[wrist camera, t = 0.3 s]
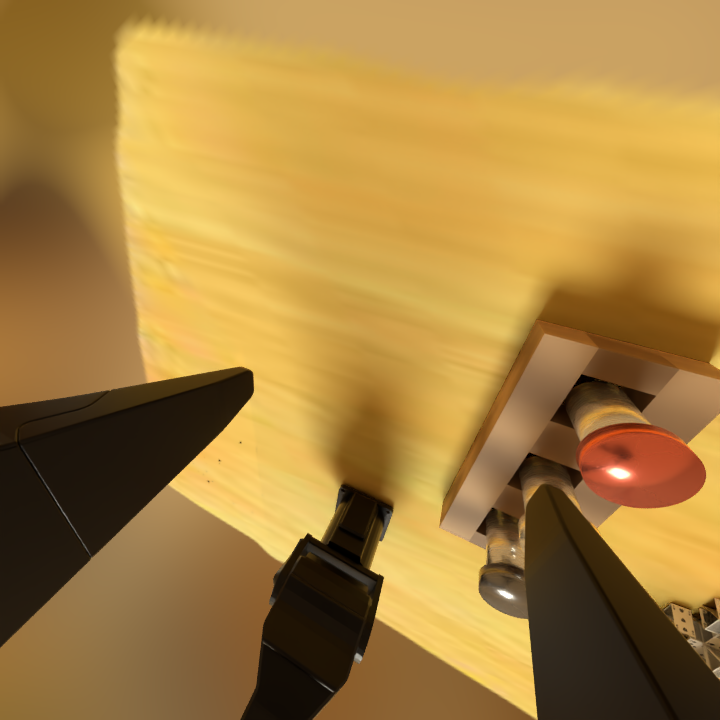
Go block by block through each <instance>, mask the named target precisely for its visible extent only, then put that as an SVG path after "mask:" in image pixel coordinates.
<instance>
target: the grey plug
mask: <svg viewBox="0 0 720 720" xmlns="http://www.w3.org/2000/svg"><path fill="white" fill-rule="evenodd" d="M519 520H520V519H518V518H516V517H513V516H511V515H509V514H506V513H504V512H502V511H499V510H497V509H495V510H492V511H490V512H488V514H487V515H486V565H484V566H483V567H482V568H481V569H480V571H479V593H480V595H481V597H482V598H483V599H484V600H485V601H486V602H487V603H488V604H489V605H491V606H492V607H493V608H495V609H497V610H498V611H500V612H502V613H505V614H507V615H510V616H513V617H517V618H523V619H528V609H527V598H526V587H525V574H524V552H523V550H522V548H521V546H520V539H519V530H518V522H519Z"/></svg>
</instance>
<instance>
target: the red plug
mask: <svg viewBox="0 0 720 720" xmlns="http://www.w3.org/2000/svg"><path fill="white" fill-rule="evenodd" d="M565 408H566V411H567V413H568V415H569V417H570V420H571V422H572V424H573V427H574V429H575V431H576V433H577V436H578V438H579V440H580V443H579V445H578V447H577V449H576V462H577V464H578V467H579V470H580V472H581V475H582V477H583V480H584V482H585V483H586V485H587V486H588V487H589V488H590V489H591V490H592V491H593V492H594V493H595V494H597V495H598V496H600V497H602V498H604V499H605V500H608V501H610V502H613V503H616V504H619V505H623V506H628V507H634V508H660V507H667V506H671V505H675V504H678V503H681V502H683V501H685V500H687V499H689V498H691V497H692V496H694V495H695V494H696V493H697V492H698V491H700V489H701V488H702V487H703V485H704V482H705V479H706V471H705V467H704V465H703V463H702V462H701V460H700V459H699V458H698V457H697V456H696V455H695V453H694V452H693V451H692V450H691V449H690V448H689V447H688V446H687V445H686V444H685V443H684V441H683V440H682V439H680V438H679V437H678V436H677V435H675V434H674V433H672V432H670V431H668V430H666V429H663V428H661V427H658V426H654V425H651V424H650V423H649V421H648V420H647V419H646V418H645V417H644V415H643V414H642V413H641V412H640V411H639V409H638V408H637V407H636V406H635V404H634V403H633V402H632V401H631V400H630V398H629V397H628V396H627V395H626V394H625V392H624V391H623V390H622V389H621V388H619V387H618V386H616V385H614V384H612V383H608V382H603V381H592V382H586V383H583V384H580V385H578V386H576V387H575V388H573V389H572V390H571V391H570V392H569V393H568V395H567V396H566V398H565Z"/></svg>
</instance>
